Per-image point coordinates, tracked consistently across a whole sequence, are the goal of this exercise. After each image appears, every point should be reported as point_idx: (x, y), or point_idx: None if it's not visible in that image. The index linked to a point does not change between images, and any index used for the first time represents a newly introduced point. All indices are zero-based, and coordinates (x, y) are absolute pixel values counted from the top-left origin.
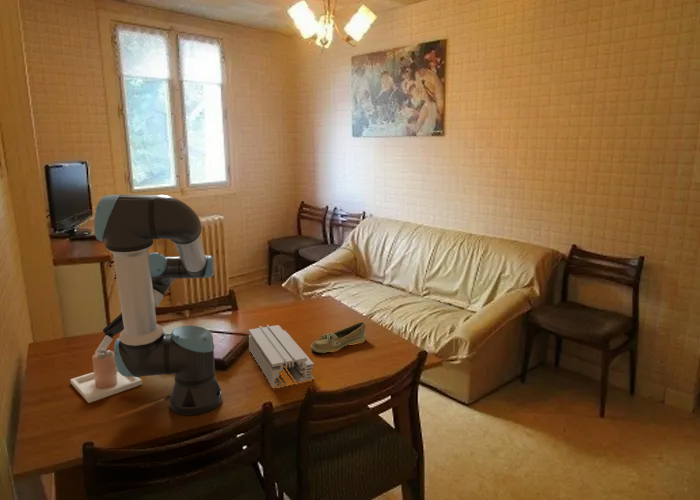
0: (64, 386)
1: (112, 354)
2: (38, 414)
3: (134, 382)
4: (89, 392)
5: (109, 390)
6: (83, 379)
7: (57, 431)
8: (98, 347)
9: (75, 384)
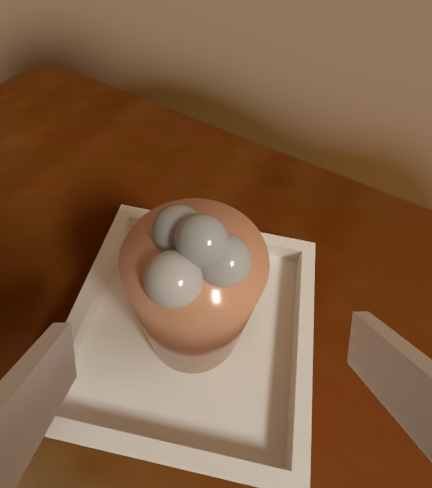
0: (321, 246)
1: (145, 293)
2: (210, 146)
3: None
4: None
5: (95, 271)
6: (297, 284)
7: (92, 132)
8: (389, 332)
9: None
